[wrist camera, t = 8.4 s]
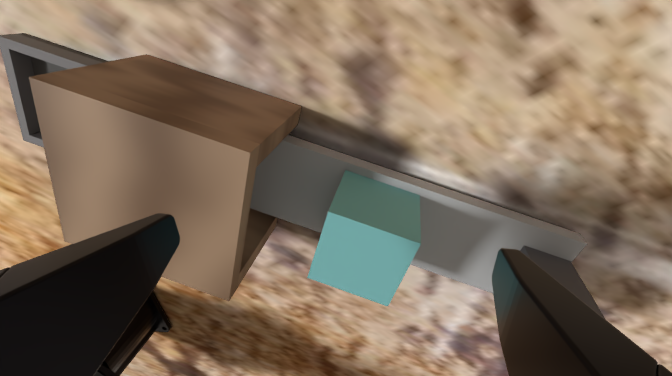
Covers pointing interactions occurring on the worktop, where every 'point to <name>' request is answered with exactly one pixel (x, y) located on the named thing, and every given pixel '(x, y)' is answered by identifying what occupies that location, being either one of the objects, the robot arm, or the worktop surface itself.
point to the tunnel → (162, 159)
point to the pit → (35, 73)
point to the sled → (400, 224)
